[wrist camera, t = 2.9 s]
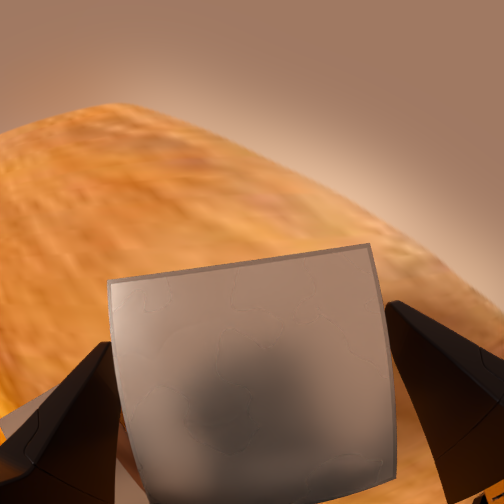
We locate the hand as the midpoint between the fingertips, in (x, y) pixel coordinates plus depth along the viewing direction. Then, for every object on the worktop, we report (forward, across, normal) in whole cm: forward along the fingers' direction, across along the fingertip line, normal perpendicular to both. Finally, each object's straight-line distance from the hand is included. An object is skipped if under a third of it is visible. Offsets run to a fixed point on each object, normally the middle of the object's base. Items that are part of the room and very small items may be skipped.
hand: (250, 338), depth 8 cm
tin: (+4, 0, +6) cm, 7 cm away
